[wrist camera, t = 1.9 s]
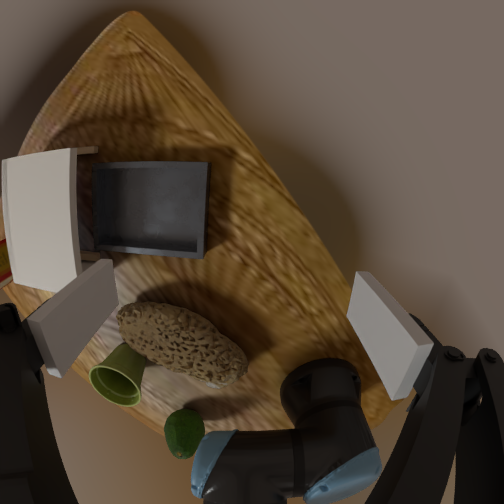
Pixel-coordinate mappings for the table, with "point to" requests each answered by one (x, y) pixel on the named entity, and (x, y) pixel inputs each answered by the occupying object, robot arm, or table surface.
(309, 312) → the table surface
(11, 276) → the baking soda box
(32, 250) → the white box
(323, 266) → the table surface
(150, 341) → the sponge
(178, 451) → the avocado
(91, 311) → the robot arm
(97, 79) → the table surface
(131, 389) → the plant pot
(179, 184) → the tray
